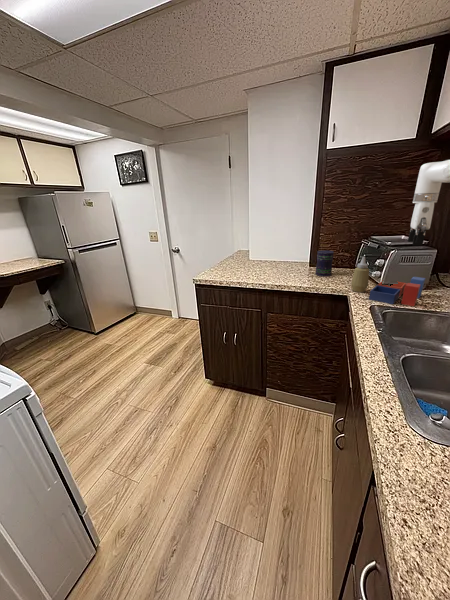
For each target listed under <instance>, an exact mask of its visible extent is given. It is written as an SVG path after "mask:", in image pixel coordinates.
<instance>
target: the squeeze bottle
mask: <svg viewBox="0 0 450 600" xmlns="http://www.w3.org/2000/svg"><path fill="white" fill-rule="evenodd" d="M366 262H367V261H366V256H362V257H361V260H360V262H359V263H357V266H356V267H355V268H354V272H353V275H352V279H351V282H350V285H351V288H352V291H353V292H355V293H364V292H366V290H367V289H368V287H369V280H370V279H369V278H370V269H369V264H368V263H366Z"/></svg>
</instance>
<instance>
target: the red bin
mask: <svg viewBox="0 0 450 600" xmlns="http://www.w3.org/2000/svg"><path fill="white" fill-rule="evenodd" d="M397 282H398V284H393V285H391V286H388V285H382V282H381V281H380V282H379V283H378V284H377V285H378V286H384V287H389V288H395V289H400V294H399V298H400V297H401V296H403V293H404V289H405V285H406V284H407V282H404V281H403V282H402V281H397Z"/></svg>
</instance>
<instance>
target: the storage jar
mask: <svg viewBox="0 0 450 600" xmlns="http://www.w3.org/2000/svg"><path fill="white" fill-rule="evenodd" d="M334 253H335V251H333V250H327V249H323V250H317V254H316V265H315V276H318V277H330V276H332V271H333V260H334Z"/></svg>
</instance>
